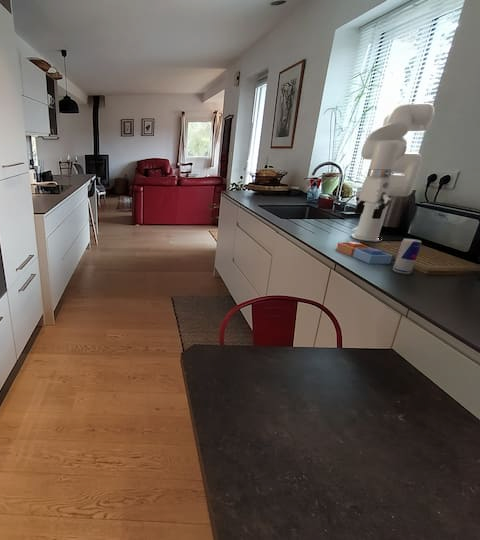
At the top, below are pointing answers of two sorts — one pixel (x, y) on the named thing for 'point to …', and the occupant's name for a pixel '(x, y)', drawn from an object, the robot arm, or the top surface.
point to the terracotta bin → (348, 248)
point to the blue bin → (372, 257)
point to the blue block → (373, 251)
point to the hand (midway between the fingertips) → (366, 216)
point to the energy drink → (407, 256)
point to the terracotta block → (355, 244)
